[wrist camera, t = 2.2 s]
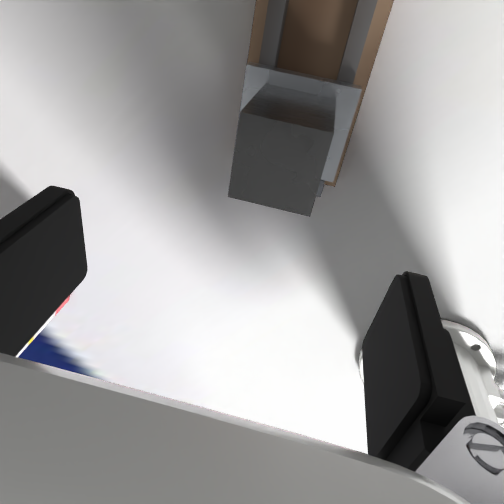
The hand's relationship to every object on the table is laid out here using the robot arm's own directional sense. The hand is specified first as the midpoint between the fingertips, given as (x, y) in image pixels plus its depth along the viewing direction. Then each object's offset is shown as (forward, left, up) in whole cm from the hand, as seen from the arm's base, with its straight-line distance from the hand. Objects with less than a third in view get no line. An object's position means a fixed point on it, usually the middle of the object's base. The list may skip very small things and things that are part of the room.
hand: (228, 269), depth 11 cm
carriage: (0, 0, -19) cm, 19 cm away
